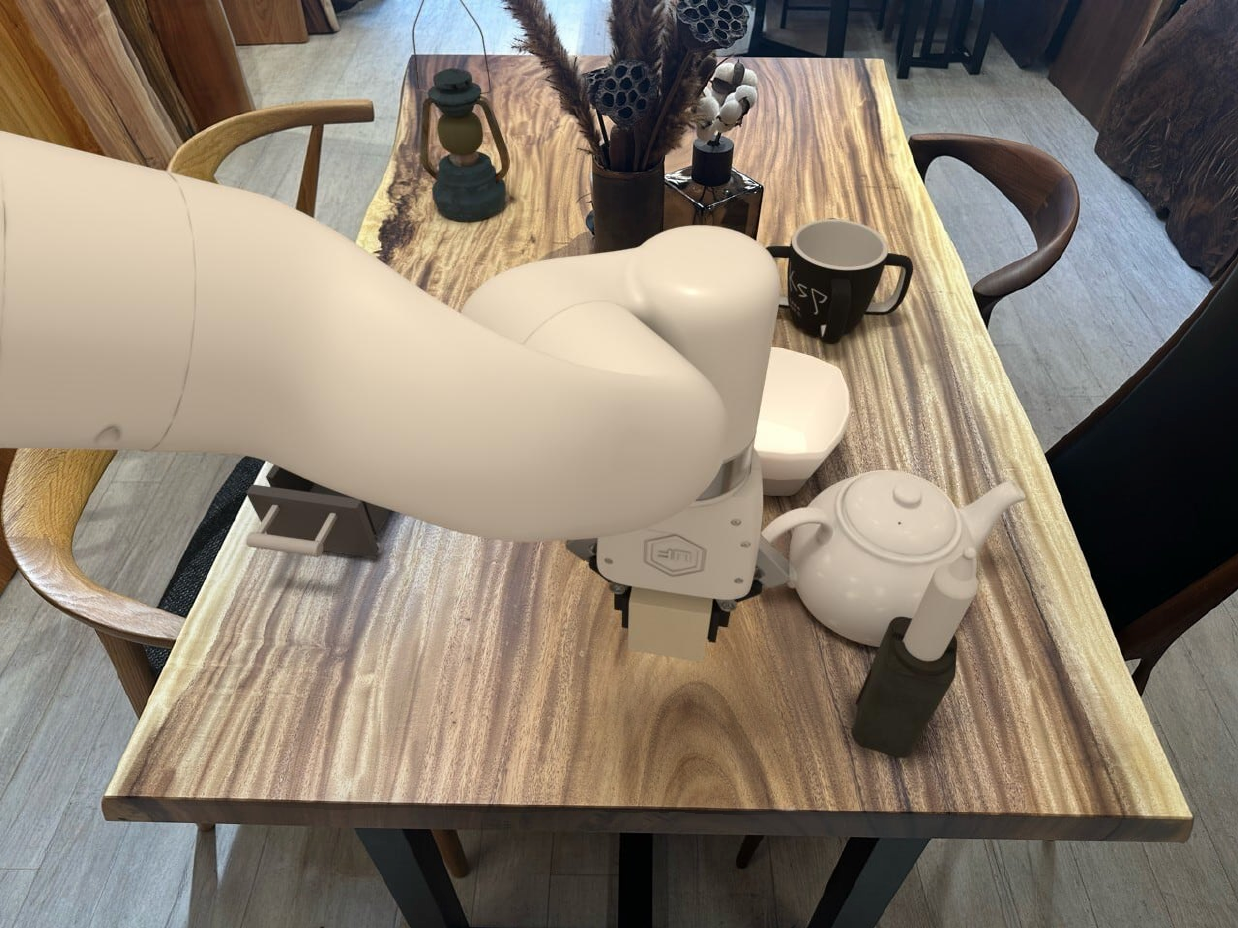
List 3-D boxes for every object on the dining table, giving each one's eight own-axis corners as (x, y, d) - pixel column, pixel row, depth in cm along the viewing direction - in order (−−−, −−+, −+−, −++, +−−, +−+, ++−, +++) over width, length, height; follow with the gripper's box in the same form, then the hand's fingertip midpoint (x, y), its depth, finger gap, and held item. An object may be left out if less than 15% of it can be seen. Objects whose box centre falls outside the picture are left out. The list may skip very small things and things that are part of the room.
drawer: (355, 597, 79) (334, 549, 73) (248, 581, 80) (219, 531, 74) (421, 464, 91) (407, 413, 85) (327, 451, 93) (307, 400, 87)
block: (703, 662, 58) (710, 615, 53) (627, 650, 58) (628, 602, 54) (711, 599, 61) (718, 550, 57) (640, 588, 62) (642, 539, 58)
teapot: (824, 486, 90) (849, 393, 80) (990, 563, 82) (1040, 471, 72) (741, 601, 79) (757, 511, 69) (922, 701, 72) (969, 616, 62)
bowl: (845, 421, 97) (861, 360, 90) (825, 532, 85) (842, 471, 78) (700, 393, 100) (706, 332, 94) (662, 494, 89) (665, 433, 82)
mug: (740, 308, 113) (750, 231, 104) (828, 274, 118) (844, 198, 110) (817, 372, 103) (834, 293, 94) (909, 332, 109) (933, 254, 100)
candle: (911, 761, 68) (1013, 590, 50) (849, 742, 69) (928, 569, 51) (915, 707, 71) (1013, 529, 53) (857, 691, 72) (933, 511, 54)
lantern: (420, 222, 130) (370, -23, 104) (439, 186, 138) (396, -49, 112) (507, 226, 129) (477, -20, 103) (520, 190, 137) (496, -47, 111)
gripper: (525, 468, 45) (545, 643, 58) (839, 512, 43) (786, 683, 56) (557, 382, 50) (568, 561, 63) (839, 418, 48) (790, 595, 61)
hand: (671, 617), depth 59 cm, fingers closed on block, 5 cm apart
